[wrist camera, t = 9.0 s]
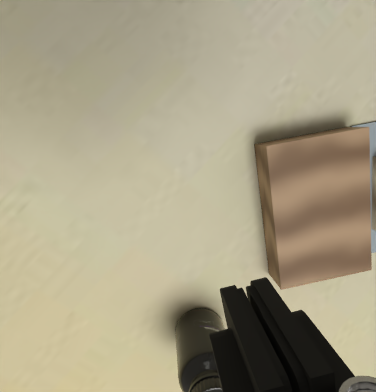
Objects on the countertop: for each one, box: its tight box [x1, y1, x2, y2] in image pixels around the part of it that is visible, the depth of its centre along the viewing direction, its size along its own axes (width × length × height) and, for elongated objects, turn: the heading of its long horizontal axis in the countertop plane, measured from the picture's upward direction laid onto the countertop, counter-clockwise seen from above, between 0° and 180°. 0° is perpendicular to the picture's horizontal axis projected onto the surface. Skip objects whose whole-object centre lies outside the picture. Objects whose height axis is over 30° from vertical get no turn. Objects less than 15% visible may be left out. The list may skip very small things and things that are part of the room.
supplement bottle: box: [176, 308, 225, 392], centre depth 34 cm, size 7×7×12 cm
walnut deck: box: [254, 127, 371, 290], centre depth 36 cm, size 18×12×4 cm, turn 10°
